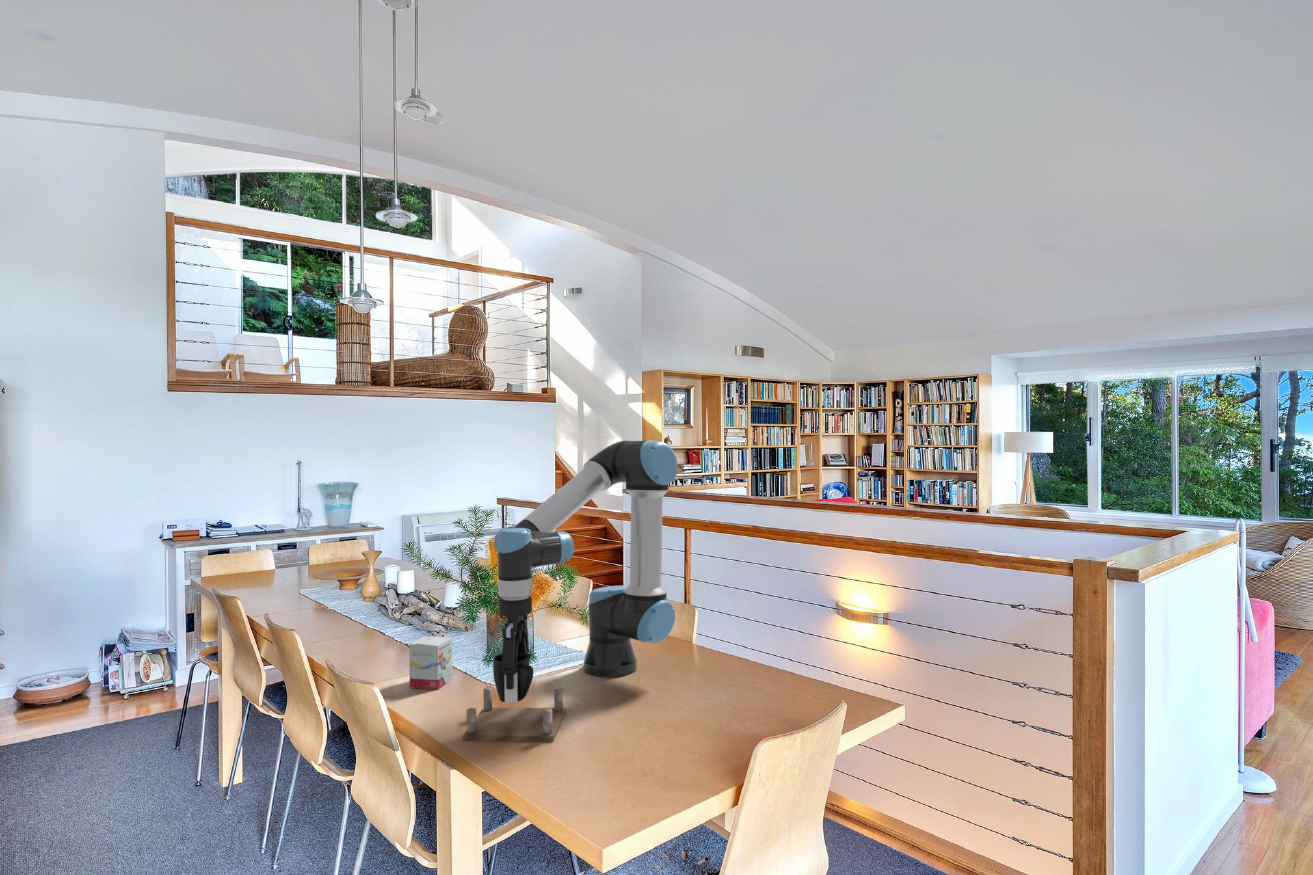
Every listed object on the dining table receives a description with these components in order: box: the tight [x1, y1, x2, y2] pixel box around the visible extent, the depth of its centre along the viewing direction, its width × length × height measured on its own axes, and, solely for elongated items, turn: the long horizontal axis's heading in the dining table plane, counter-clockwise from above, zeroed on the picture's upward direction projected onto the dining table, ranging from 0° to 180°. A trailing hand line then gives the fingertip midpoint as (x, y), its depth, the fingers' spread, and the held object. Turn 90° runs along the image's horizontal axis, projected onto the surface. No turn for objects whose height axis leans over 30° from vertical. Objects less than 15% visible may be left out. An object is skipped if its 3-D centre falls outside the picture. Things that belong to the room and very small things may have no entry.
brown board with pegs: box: [462, 687, 567, 742], centre depth 169 cm, size 20×16×6 cm
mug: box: [492, 652, 534, 703], centre depth 168 cm, size 8×12×10 cm
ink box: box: [408, 635, 453, 690], centre depth 198 cm, size 9×9×12 cm
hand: (516, 694), depth 169 cm, fingers closed on mug, 9 cm apart
